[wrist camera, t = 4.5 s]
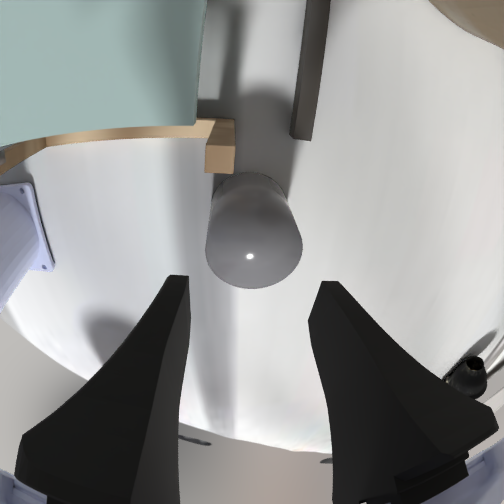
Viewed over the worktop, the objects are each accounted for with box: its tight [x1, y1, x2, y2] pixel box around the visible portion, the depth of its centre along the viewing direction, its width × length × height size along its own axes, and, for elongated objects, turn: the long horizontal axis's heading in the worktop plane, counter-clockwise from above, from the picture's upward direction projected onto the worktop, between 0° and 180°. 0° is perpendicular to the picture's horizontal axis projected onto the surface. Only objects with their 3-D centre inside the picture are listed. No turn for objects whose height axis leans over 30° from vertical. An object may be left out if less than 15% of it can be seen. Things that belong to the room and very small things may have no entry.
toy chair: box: [0, 0, 331, 175], centre depth 8 cm, size 17×13×7 cm
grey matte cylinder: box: [205, 172, 303, 289], centre depth 16 cm, size 5×5×5 cm
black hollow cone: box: [443, 356, 487, 400], centre depth 37 cm, size 9×11×18 cm
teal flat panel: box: [0, 0, 208, 147], centre depth 6 cm, size 13×10×2 cm
